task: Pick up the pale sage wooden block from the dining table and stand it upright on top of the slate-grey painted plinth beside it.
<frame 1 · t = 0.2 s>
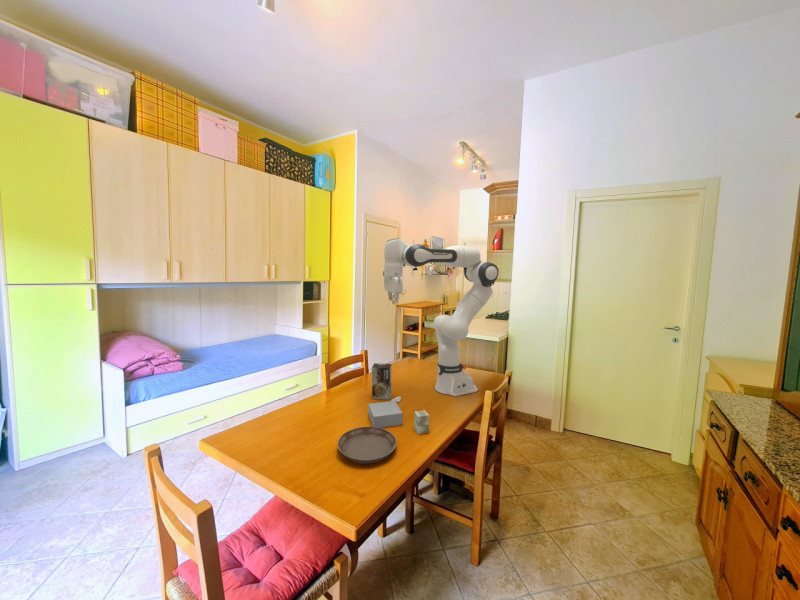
hand: (393, 301, 151), 48 cm above the table, tool pointing down, fingers open, 8 cm apart
plinth: (384, 419, 132), on the table
sage block: (421, 430, 124), on the table
plant saucer: (367, 450, 111), on the table
spoon: (387, 407, 145), on the table
coffee box: (381, 397, 155), on the table
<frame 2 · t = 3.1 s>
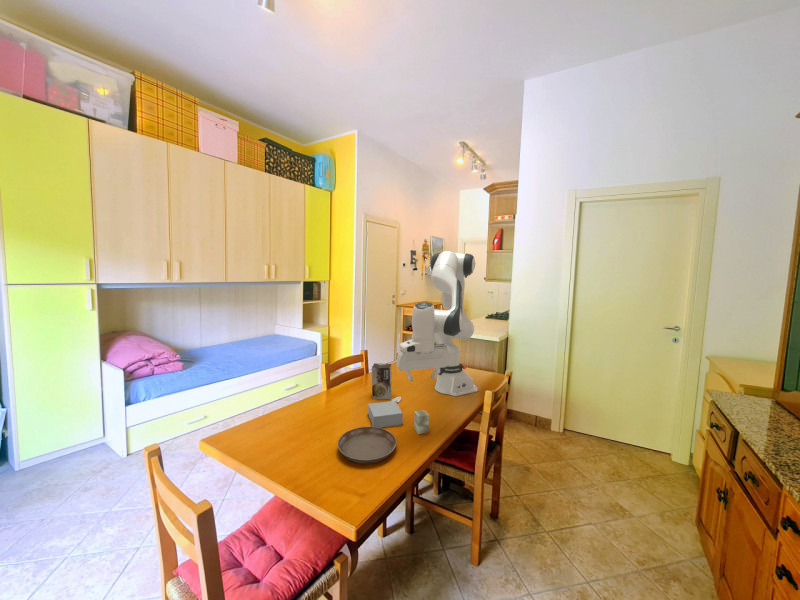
hand: (422, 379, 122), 21 cm above the table, tool pointing down, fingers open, 8 cm apart
nothing on the table moved.
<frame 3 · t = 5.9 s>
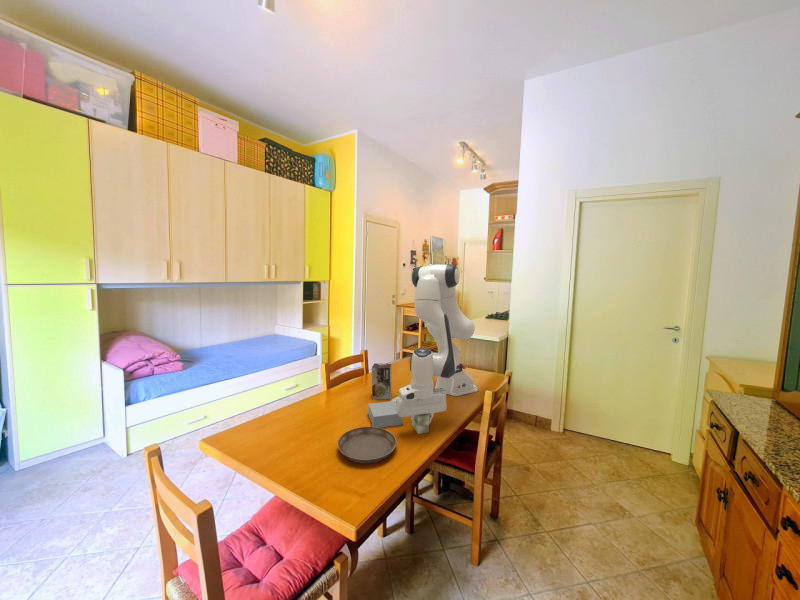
hand: (421, 423, 124), 3 cm above the table, tool pointing down, fingers closed on sage block, 4 cm apart
sage block: (421, 430, 124), on the table, touching gripper
everything else where it was.
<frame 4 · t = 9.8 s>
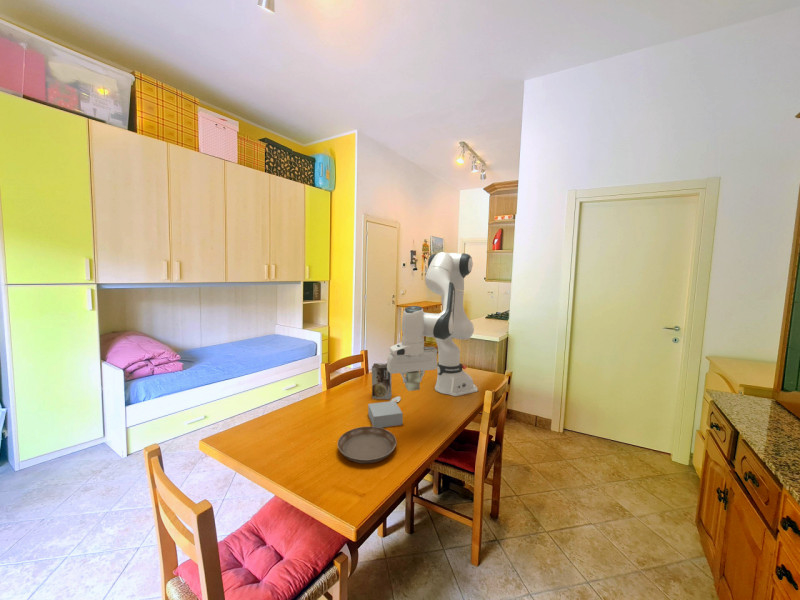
hand: (412, 381, 124), 19 cm above the table, tool pointing down, fingers closed on sage block, 4 cm apart
sage block: (412, 388, 124), point 16 cm above the table, touching gripper
everything else where it was.
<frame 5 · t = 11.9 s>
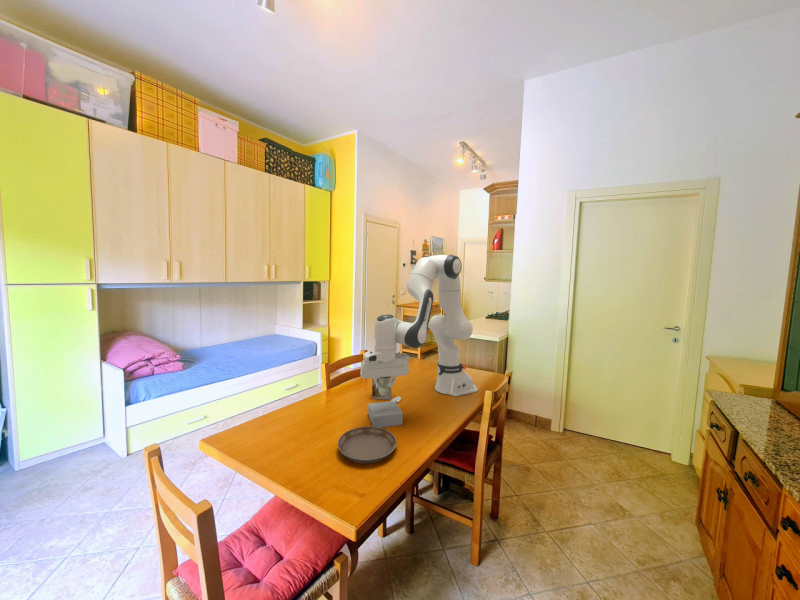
hand: (384, 386, 130), 15 cm above the table, tool pointing down, fingers closed on sage block, 4 cm apart
sage block: (384, 392, 131), point 12 cm above the table, touching gripper
everything else where it was.
when the fingers open (9 cm above the table, at t = 13.6 s): sage block drops 1 cm, resting on plinth.
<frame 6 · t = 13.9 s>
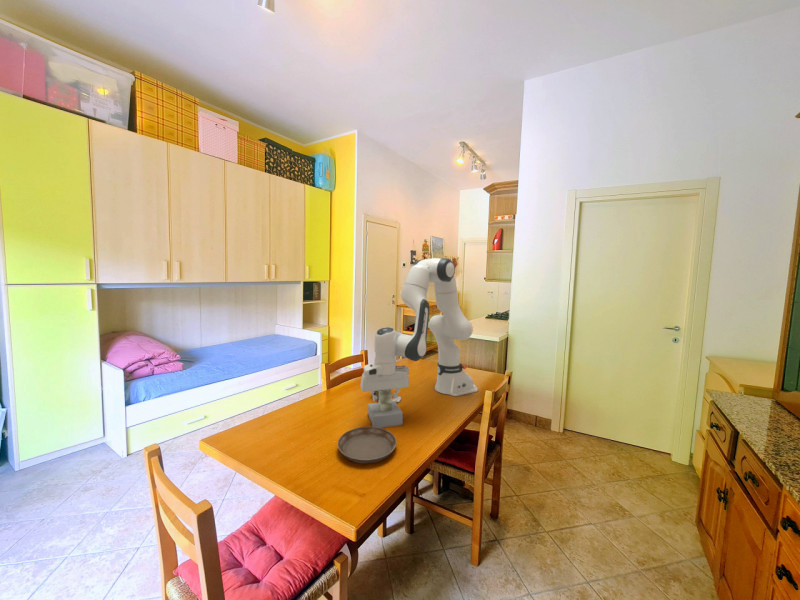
hand: (385, 399, 131), 9 cm above the table, tool pointing down, fingers open, 7 cm apart
sage block: (385, 408, 131), point 5 cm above the table, touching plinth
everything else where it was.
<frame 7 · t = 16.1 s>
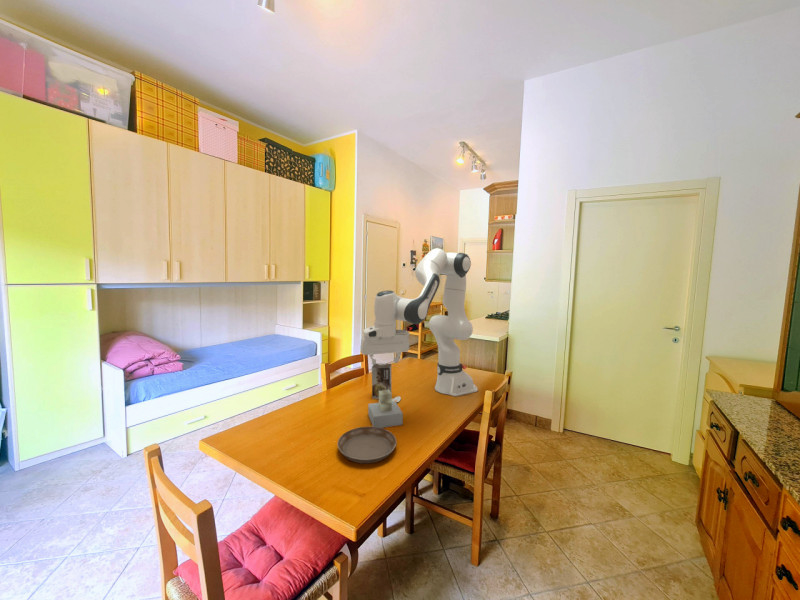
hand: (385, 363, 129), 25 cm above the table, tool pointing down, fingers open, 8 cm apart
nothing on the table moved.
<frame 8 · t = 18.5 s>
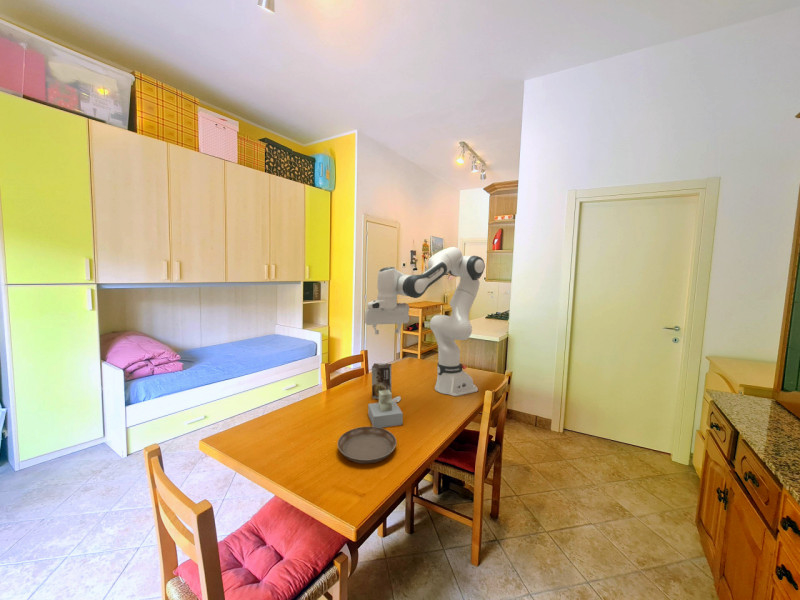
hand: (387, 333, 142), 34 cm above the table, tool pointing down, fingers open, 8 cm apart
nothing on the table moved.
at the end: sage block inside the target area on the plinth (0.1 cm from its centre), point 5.0 cm above the plinth's base; sage block tilted 0°; the gripper is holding nothing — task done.
